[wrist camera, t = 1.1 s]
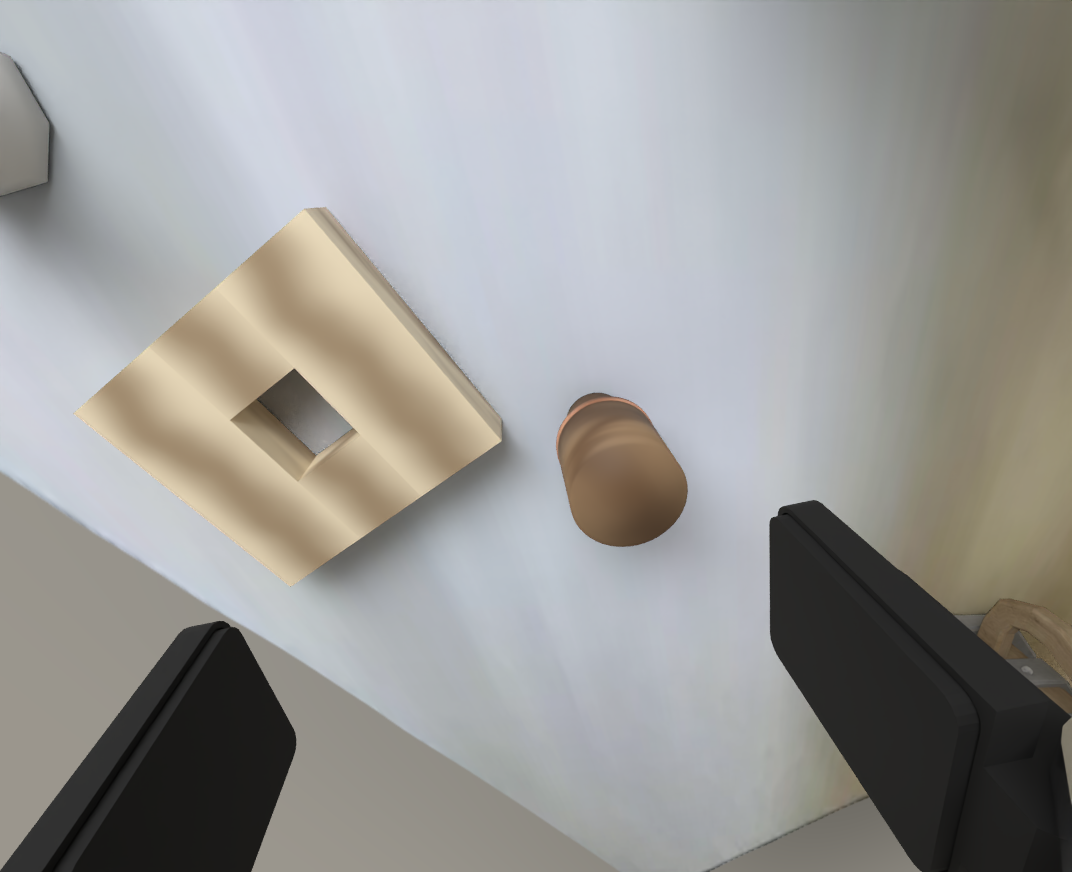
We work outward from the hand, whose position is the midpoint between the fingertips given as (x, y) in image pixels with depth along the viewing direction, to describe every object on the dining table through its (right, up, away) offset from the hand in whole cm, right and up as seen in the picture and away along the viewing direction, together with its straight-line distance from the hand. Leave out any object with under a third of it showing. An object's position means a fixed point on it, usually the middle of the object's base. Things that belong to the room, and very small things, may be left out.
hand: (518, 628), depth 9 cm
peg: (+4, +4, +26) cm, 27 cm away
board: (-14, +5, +24) cm, 29 cm away
